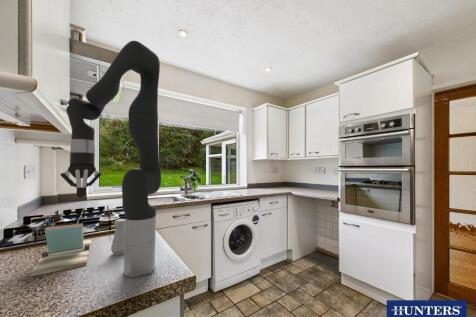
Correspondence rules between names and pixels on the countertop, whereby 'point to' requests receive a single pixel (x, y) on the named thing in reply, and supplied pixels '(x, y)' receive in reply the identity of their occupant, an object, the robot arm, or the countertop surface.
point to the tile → (64, 238)
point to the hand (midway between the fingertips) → (81, 197)
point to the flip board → (62, 260)
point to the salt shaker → (118, 237)
